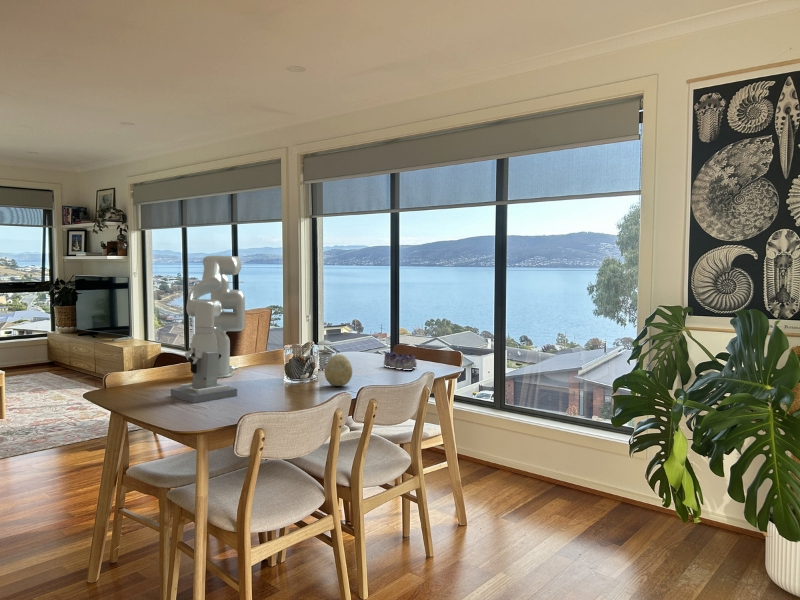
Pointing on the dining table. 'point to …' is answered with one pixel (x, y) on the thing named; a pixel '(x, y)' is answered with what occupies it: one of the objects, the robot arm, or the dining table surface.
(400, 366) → the geode
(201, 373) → the skincare box
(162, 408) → the dining table surface
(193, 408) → the dining table surface
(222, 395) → the panel
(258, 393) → the dining table surface
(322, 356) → the french press
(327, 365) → the fossilized egg
